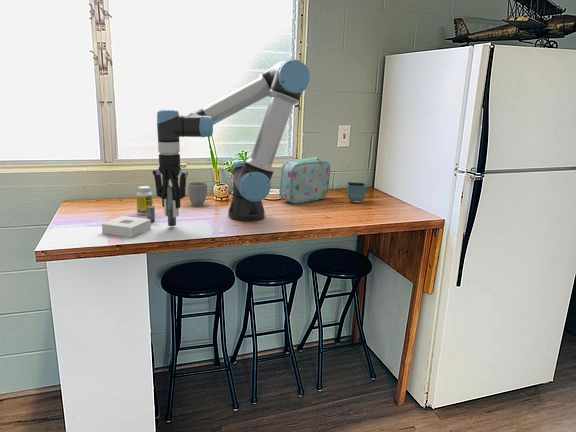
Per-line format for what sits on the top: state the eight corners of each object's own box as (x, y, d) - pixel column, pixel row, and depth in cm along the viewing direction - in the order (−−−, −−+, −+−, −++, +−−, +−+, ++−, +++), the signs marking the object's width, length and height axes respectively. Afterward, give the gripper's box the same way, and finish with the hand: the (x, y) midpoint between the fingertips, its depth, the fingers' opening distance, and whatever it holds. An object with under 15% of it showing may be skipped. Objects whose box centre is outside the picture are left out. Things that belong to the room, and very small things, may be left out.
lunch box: (315, 195, 242) (318, 154, 236) (330, 199, 234) (333, 156, 229) (276, 202, 224) (278, 157, 219) (291, 206, 217) (293, 160, 211)
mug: (210, 206, 211) (210, 185, 209) (191, 207, 207) (190, 186, 205) (201, 200, 221) (201, 180, 219) (183, 201, 217) (182, 181, 215)
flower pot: (365, 204, 227) (367, 186, 225) (347, 203, 227) (348, 185, 225) (363, 200, 235) (364, 182, 233) (345, 199, 235) (346, 182, 233)
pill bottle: (148, 215, 192) (147, 189, 189) (134, 214, 193) (133, 187, 190) (155, 212, 197) (154, 186, 195) (141, 210, 199) (140, 185, 196)
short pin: (156, 221, 184) (155, 206, 183) (152, 223, 182) (151, 208, 180) (149, 220, 185) (149, 205, 184) (145, 222, 182) (144, 207, 181)
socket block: (151, 228, 175) (150, 219, 174) (132, 237, 164) (131, 227, 163) (123, 224, 178) (122, 215, 177) (102, 233, 167) (101, 223, 166)
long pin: (177, 224, 178) (176, 185, 174) (173, 226, 175) (172, 187, 171) (170, 223, 179) (169, 184, 175) (166, 225, 176) (164, 186, 172)
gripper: (194, 153, 171) (195, 215, 177) (155, 150, 175) (158, 211, 181) (184, 156, 164) (186, 220, 170) (143, 153, 168) (147, 216, 174)
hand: (171, 215), depth 176 cm, fingers closed on long pin, 3 cm apart
